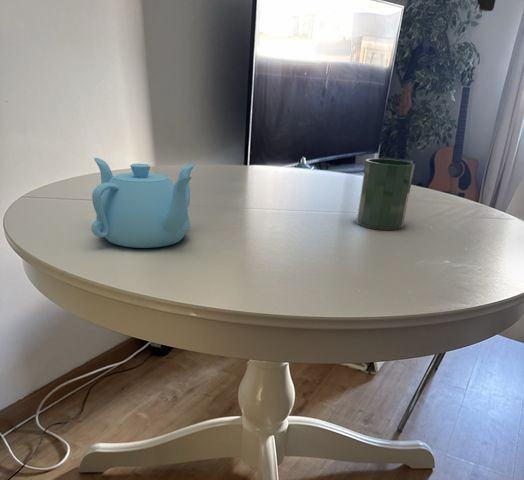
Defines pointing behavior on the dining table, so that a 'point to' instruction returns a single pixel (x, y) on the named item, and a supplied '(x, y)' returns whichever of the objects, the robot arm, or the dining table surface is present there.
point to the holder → (384, 193)
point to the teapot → (141, 207)
